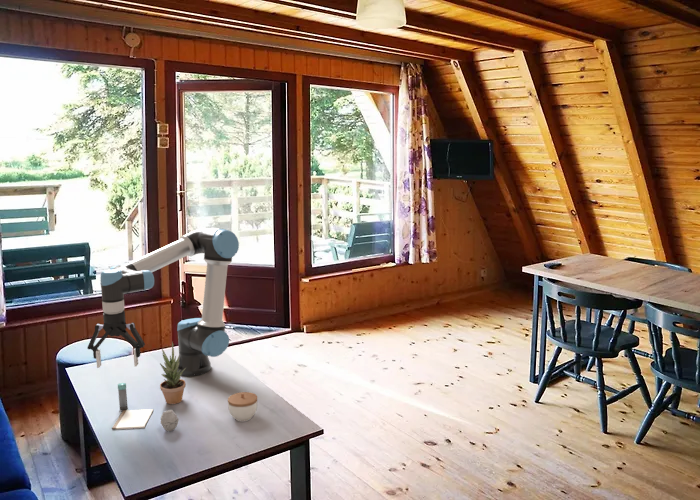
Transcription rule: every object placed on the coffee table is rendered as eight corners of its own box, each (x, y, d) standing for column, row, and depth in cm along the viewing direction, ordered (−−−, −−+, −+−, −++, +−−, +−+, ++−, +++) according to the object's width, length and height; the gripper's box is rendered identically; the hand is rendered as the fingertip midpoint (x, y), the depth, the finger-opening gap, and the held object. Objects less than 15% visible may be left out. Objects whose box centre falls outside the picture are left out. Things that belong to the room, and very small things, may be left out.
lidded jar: (230, 411, 223) (229, 388, 221) (259, 410, 224) (258, 387, 222) (226, 425, 212) (225, 400, 211) (257, 423, 213) (256, 399, 211)
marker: (128, 407, 227) (127, 382, 225) (126, 410, 224) (124, 385, 222) (120, 407, 227) (118, 383, 225) (118, 411, 224) (116, 386, 222)
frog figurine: (173, 423, 213) (172, 405, 212) (182, 430, 208) (181, 412, 207) (157, 429, 209) (156, 410, 208) (166, 436, 204) (165, 417, 203)
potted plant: (163, 408, 226) (159, 346, 221) (159, 399, 234) (155, 339, 230) (190, 403, 230) (186, 342, 226) (184, 394, 239) (181, 335, 234)
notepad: (153, 410, 224) (153, 409, 224) (144, 428, 210) (144, 426, 210) (123, 411, 223) (123, 410, 223) (112, 429, 209) (112, 427, 209)
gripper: (150, 307, 224) (154, 361, 228) (82, 309, 222) (87, 363, 225) (145, 313, 217) (149, 368, 220) (75, 315, 214) (80, 370, 218)
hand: (117, 365), depth 223 cm, fingers open, 13 cm apart
